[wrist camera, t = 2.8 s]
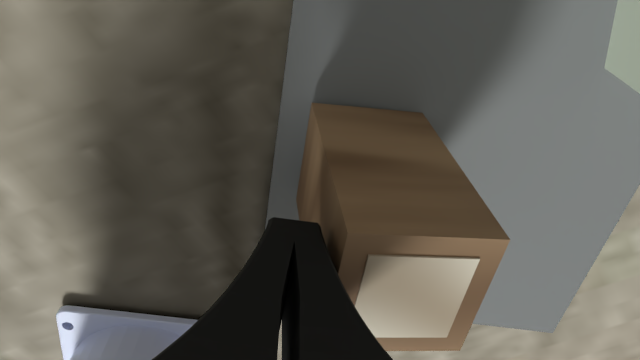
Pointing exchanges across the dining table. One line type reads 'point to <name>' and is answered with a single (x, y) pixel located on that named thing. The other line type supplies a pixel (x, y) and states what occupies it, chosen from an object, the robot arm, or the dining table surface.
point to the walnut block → (399, 224)
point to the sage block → (625, 44)
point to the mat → (485, 122)
